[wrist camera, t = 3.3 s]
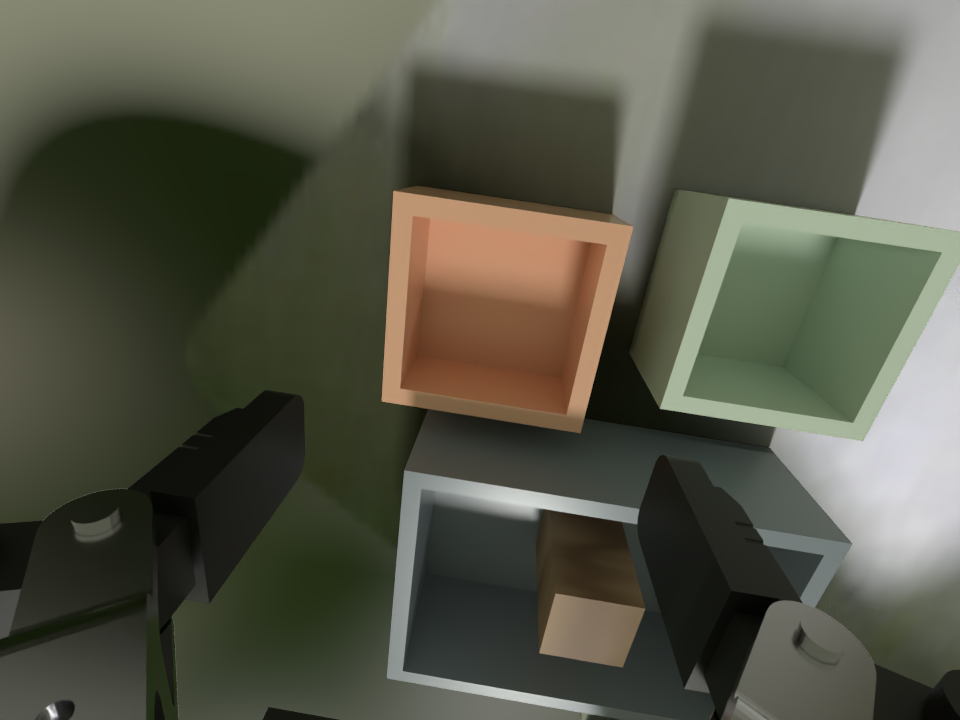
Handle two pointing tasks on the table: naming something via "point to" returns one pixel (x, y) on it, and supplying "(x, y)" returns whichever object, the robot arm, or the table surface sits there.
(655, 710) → the slate bin
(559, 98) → the table surface
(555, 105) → the table surface
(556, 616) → the walnut block
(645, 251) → the table surface
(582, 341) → the peach square tray
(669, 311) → the pale green open box
